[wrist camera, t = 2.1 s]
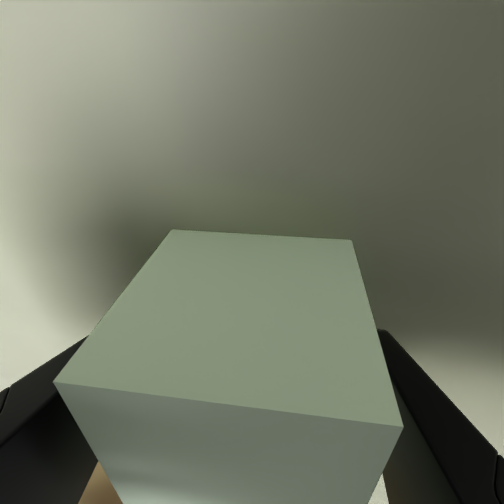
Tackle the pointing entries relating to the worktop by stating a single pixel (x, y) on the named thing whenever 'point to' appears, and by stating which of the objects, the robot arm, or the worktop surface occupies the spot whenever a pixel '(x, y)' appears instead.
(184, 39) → the worktop surface
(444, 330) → the worktop surface
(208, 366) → the sage block
